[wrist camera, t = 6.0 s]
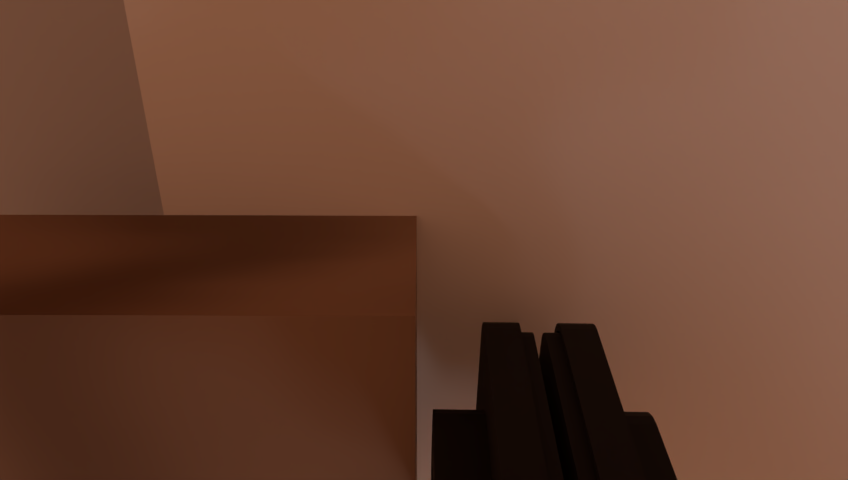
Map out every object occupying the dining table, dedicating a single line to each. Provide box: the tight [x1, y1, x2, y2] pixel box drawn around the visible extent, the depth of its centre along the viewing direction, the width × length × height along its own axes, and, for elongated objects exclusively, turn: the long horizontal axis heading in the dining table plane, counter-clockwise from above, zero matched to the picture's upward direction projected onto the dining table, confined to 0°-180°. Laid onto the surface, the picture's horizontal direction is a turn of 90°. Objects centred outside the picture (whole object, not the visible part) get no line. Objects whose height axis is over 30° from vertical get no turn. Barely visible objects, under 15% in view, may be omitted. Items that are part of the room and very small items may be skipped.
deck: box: [123, 0, 848, 480], centre depth 14 cm, size 18×16×4 cm
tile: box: [0, 215, 417, 480], centre depth 11 cm, size 8×6×2 cm
